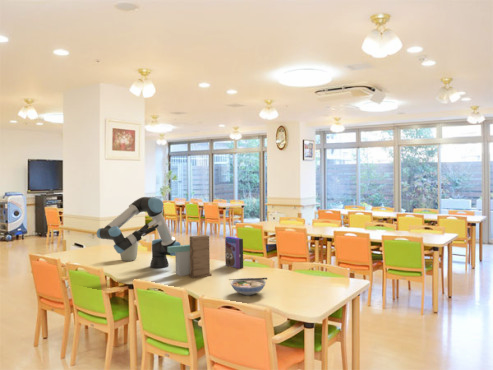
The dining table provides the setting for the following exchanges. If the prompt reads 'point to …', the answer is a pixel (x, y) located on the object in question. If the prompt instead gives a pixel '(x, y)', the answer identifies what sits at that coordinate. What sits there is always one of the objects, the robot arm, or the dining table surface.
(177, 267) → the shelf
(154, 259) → the robot arm
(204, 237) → the pedestal
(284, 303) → the dining table surface
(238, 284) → the ramen bowl
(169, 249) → the mint green bar
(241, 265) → the cereal box
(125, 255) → the canister
